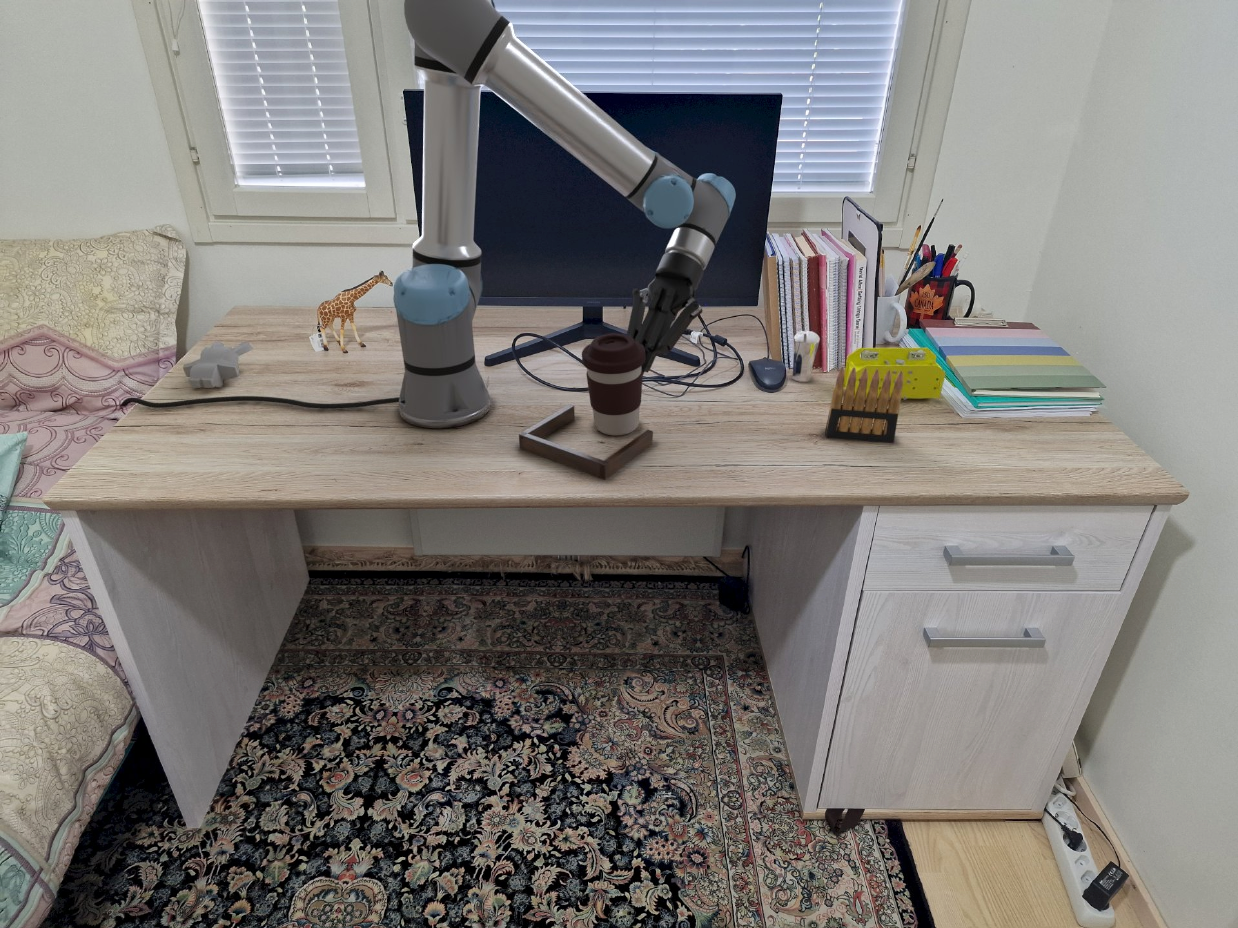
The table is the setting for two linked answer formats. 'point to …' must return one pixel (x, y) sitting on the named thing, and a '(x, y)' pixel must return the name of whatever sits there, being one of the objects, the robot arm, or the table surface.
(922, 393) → the yellow toy chassis
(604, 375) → the coffee cup
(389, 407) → the table surface
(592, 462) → the bay
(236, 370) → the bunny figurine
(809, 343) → the milkshake
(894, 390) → the ammunition clip
